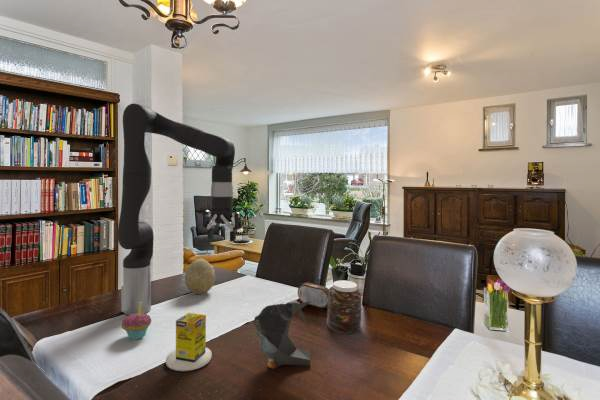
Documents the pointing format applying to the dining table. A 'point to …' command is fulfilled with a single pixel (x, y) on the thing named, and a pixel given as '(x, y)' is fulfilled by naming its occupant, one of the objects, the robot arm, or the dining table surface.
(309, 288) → the tin
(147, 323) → the cupcake
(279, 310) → the grey bird figurine
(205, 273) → the fossilized egg
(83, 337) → the dining table surface
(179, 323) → the supplement box
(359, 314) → the jar
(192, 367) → the plate
